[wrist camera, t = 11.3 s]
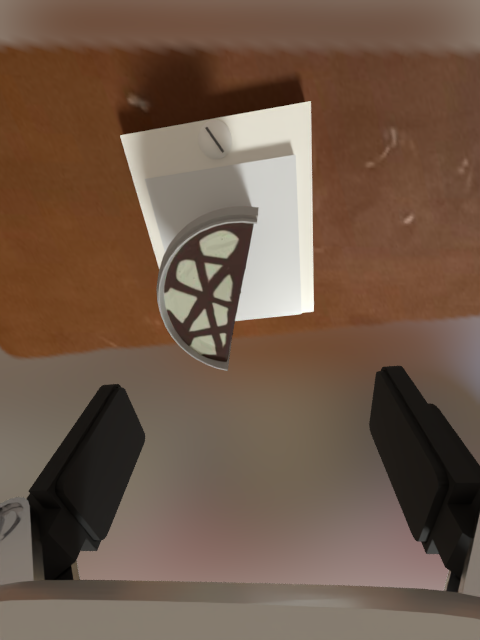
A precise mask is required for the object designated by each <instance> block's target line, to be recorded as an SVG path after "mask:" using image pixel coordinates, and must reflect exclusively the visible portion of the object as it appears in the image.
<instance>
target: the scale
mask: <svg viewBox="0 0 480 640" xmlns="http://www.w3.org/2000/svg"><path fill="white" fill-rule="evenodd" d="M120 137H121V140H122V144H123V147H124V151H125V154H126V157H127V161H128V164H129V168H130V171H131V174H132V178H133V181H134V185H135V188H136V191H137V195H138V198H139V202H140V205H141V209H142V212H143V215H144V219H145V222H146V226H147V229H148V232H149V236H150V239H151V243H152V246H153V249H154V253H155V256H156V260H157V263H158V266H159V269H160V266H161V262H162V259H163V256H164V254H165V252H166V250H167V248H168V246H169V244H170V243H171V241H172V240H173V239H174V238H175V236H176V235H177V234H178V233H179V232H180V231H181V230H182V229H183V228H184V227H185V226H186V225H187V224H189V223H190V222H192V221H193V220H195V219H196V218H198V217H200V216H202V215H204V214H206V213H209V212H211V211H214V210H218V209H222V208H226V207H236V206H249V207H259V209H258V218H257V224H254V226H253V231H252V237H251V243H250V248H249V253H248V258H247V263H246V269H245V273H244V277H243V282H242V287H241V294H240V298H239V303H238V308H237V313H236V318H235V321H239V320H249V319H259V318H268V317H278V316H288V315H297V314H302V313H304V312H313V311H314V288H313V218H312V148H311V101H308V102H303V103H297V104H292V105H286V106H281V107H275V108H269V109H264V110H258V111H253V112H247V113H242V114H236V115H231V116H225V117H219V118H214V119H208V120H203V121H197V122H192V123H186V124H180V125H175V126H169V127H164V128H158V129H153V130H147V131H142V132H136V133H130V134H125V135H120Z"/></svg>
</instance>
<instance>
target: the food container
mask: <svg viewBox="0 0 480 640" xmlns="http://www.w3.org/2000/svg"><path fill="white" fill-rule="evenodd" d="M258 209H259V207H249V206H236V207H226V208H222V209H218V210H214V211H211V212H209V213H206V214H204V215H202V216H200V217H198V218H196V219H195V220H193V221H192V222H190V223H189V224H187V225H186V226H185V227H184V228H183V229H182V230H181V231H180V232H179V233H178V234H177V235H176V236H175V238H174V239H173V240H172V241H171V243H170V244H169V246H168V248H167V250H166V252H165V254H164V256H163V259H162V262H161V266H160V269H159V275H158V282H157V301H158V305H159V310H160V313H161V316H162V319H163V321H164V324H165V326H166V328H167V330H168V331H169V333H170V335H171V336H172V338H173V339H174V340H175V341H176V343H177V344H178V345H179V346H180V347H181V348H182V349H183V350H185V351H186V352H187V353H188V354H190V355H191V356H192V357H194V358H195V359H197V360H199V361H201V362H203V363H204V364H206V365H209V366H212V367H215V368H218V369H222V370H228V364H229V356H230V348H231V340H232V335H233V329H234V323H235V318H236V313H237V308H238V303H239V298H240V294H241V287H242V282H243V277H244V273H245V269H246V263H247V258H248V253H249V248H250V243H251V237H252V231H253V226H254V224H257V218H258Z"/></svg>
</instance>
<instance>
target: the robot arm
mask: <svg viewBox="0 0 480 640" xmlns="http://www.w3.org/2000/svg"><path fill="white" fill-rule="evenodd" d="M369 425H370V431H371V435H372V437H373V440H374V442H375V445H376V447H377V449H378V452H379V454H380V457H381V459H382V462H383V464H384V467H385V469H386V472H387V474H388V476H389V479H390V481H391V484H392V486H393V489H394V491H395V494H396V496H397V499H398V501H399V504H400V506H401V508H402V510H403V513H404V516H405V518H406V521H407V523H408V526H409V528H410V531H411V533H412V535H413V537H414V538H415V540H416V541H421V542H422V545H423V547H424V549H425V552H426V554H439V555H440V557H441V559H442V561H443V563H444V565H445V567H446V568H447V569H448V570H449V572H448V576H447V580H446V584H445V587H444V591H438V590H428V589H415V588H394V587H372V586H345V585H343V586H342V585H308V584H307V585H306V584H270V583H269V584H268V583H226V582H223V583H222V582H180V581H177V582H176V581H121V580H120V581H119V580H80V577H79V572H78V565H77V560H76V559H77V557H78V555H79V552H80V551H97V549H98V547H99V544H100V542H101V540H103V539H105V537H106V536H107V534H108V531H109V529H110V527H111V524H112V522H113V519H114V517H115V514H116V512H117V509H118V506H119V504H120V502H121V499H122V497H123V494H124V492H125V489H126V487H127V484H128V482H129V479H130V477H131V474H132V472H133V469H134V467H135V465H136V462H137V459H138V457H139V455H140V452H141V450H142V447H143V445H144V442H145V433H144V431H143V428H142V426H141V424H140V422H139V420H138V417H137V415H136V413H135V411H134V408H133V406H132V404H131V402H130V400H129V397H128V395H127V393H126V391H125V389H124V388H121V386H120V385H119V384H113V385H103V386H101V387H100V388H99V390H98V391H97V393H96V395H95V396H94V397H93V399H92V400H91V401H90V403H89V404H88V406H87V407H86V409H85V410H84V412H83V413H82V415H81V416H80V418H79V419H78V420H77V422H76V423H75V425H74V426H73V428H72V429H71V431H70V432H69V433H68V435H67V436H66V438H65V439H64V441H63V442H62V443H61V445H60V446H59V448H58V449H57V451H56V452H55V454H54V455H53V456H52V458H51V459H50V461H49V462H48V464H47V465H46V467H45V468H44V470H43V471H42V472H41V474H40V475H39V477H38V478H37V480H36V481H35V483H34V484H33V486H32V487H31V488H30V490H29V492H30V495H29V496H28V497H27V499H25V498H24V497H16V498H11V499H9V500H7V501H4V502H2V503H0V640H480V466H479V464H478V463H477V461H476V460H475V459H474V457H473V456H472V454H471V453H470V452H469V450H468V449H467V448H466V446H465V445H464V443H463V442H462V440H461V439H460V438H459V436H458V435H457V433H456V432H455V431H454V429H453V428H452V427H451V425H450V424H449V422H448V421H447V420H446V418H445V417H444V416H443V414H442V413H441V411H440V410H439V409H438V408H437V406H435V405H434V404H428V403H427V402H426V400H425V399H424V398H423V396H422V395H421V393H420V392H419V390H418V389H417V387H416V386H415V385H414V383H413V382H412V380H411V379H410V377H409V376H408V374H407V373H406V372H405V370H404V369H403V367H402V366H389V367H382V369H381V371H379V372H377V373H376V378H375V386H374V393H373V400H372V409H371V416H370V424H369Z"/></svg>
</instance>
